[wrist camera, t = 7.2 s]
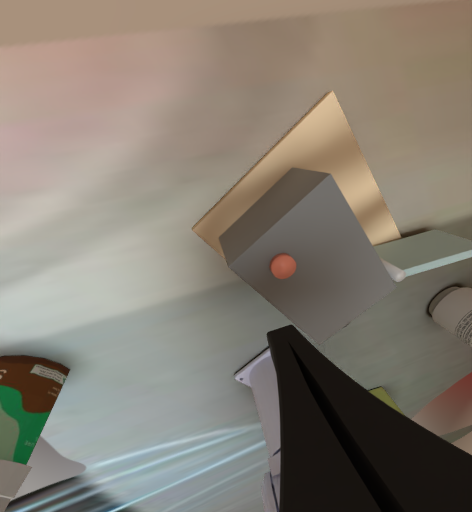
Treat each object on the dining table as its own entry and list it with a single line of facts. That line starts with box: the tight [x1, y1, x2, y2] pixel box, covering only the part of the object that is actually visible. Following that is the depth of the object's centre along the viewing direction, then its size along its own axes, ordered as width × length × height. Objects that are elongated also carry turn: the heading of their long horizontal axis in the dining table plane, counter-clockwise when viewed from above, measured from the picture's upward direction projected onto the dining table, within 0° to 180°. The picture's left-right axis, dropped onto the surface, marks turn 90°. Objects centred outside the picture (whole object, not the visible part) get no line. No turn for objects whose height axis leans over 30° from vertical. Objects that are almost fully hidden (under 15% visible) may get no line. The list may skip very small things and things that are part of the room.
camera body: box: [219, 167, 397, 345], centre depth 17 cm, size 13×8×6 cm, turn 42°
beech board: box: [192, 91, 402, 258], centre depth 20 cm, size 19×14×1 cm
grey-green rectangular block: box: [374, 229, 472, 282], centre depth 20 cm, size 9×2×4 cm, turn 101°
